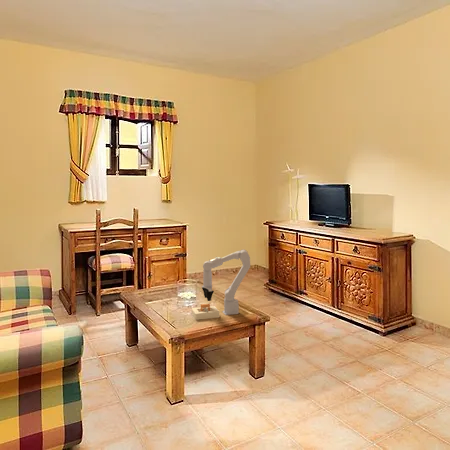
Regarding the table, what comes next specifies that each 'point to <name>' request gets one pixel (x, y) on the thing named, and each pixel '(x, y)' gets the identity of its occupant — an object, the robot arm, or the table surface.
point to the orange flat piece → (205, 307)
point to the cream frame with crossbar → (205, 313)
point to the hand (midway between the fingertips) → (207, 299)
